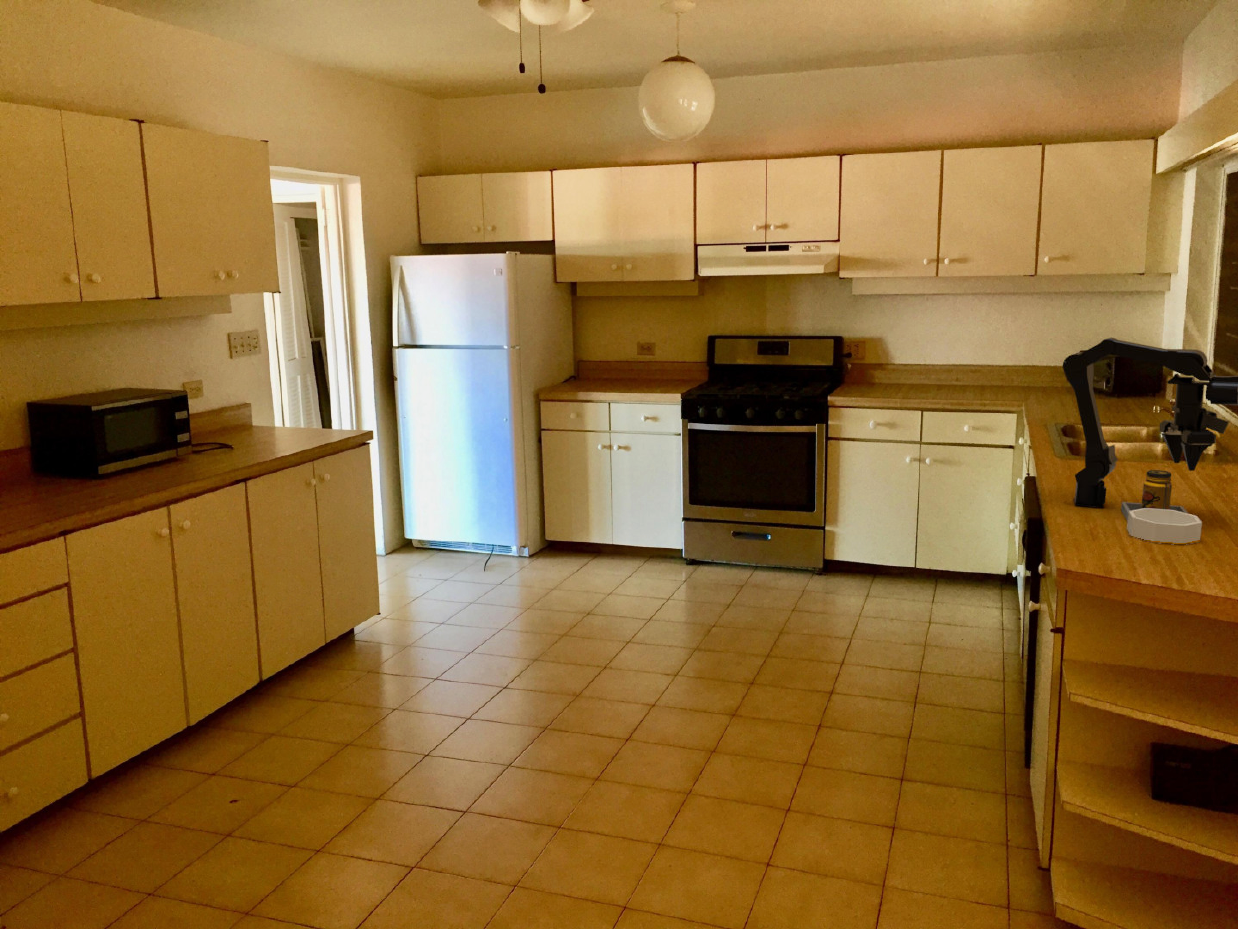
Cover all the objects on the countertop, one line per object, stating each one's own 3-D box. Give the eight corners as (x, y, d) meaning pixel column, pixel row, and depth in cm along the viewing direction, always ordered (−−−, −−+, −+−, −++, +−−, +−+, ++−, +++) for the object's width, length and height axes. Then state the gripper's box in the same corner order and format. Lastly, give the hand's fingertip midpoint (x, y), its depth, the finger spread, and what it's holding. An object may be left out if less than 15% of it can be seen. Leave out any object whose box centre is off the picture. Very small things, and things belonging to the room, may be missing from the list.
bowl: (1133, 541, 221) (1135, 522, 220) (1124, 524, 234) (1126, 506, 233) (1203, 546, 216) (1206, 527, 215) (1190, 529, 229) (1192, 511, 228)
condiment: (1133, 519, 238) (1138, 471, 236) (1146, 513, 244) (1151, 466, 241) (1165, 525, 233) (1171, 476, 230) (1178, 518, 239) (1183, 470, 236)
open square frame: (1128, 523, 234) (1129, 515, 234) (1120, 509, 247) (1121, 502, 246) (1193, 528, 230) (1194, 520, 230) (1181, 513, 243) (1182, 506, 242)
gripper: (1243, 408, 223) (1237, 474, 227) (1209, 397, 242) (1204, 459, 245) (1190, 408, 225) (1185, 474, 228) (1160, 398, 243) (1156, 459, 246)
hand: (1184, 466), depth 237 cm, fingers open, 9 cm apart
